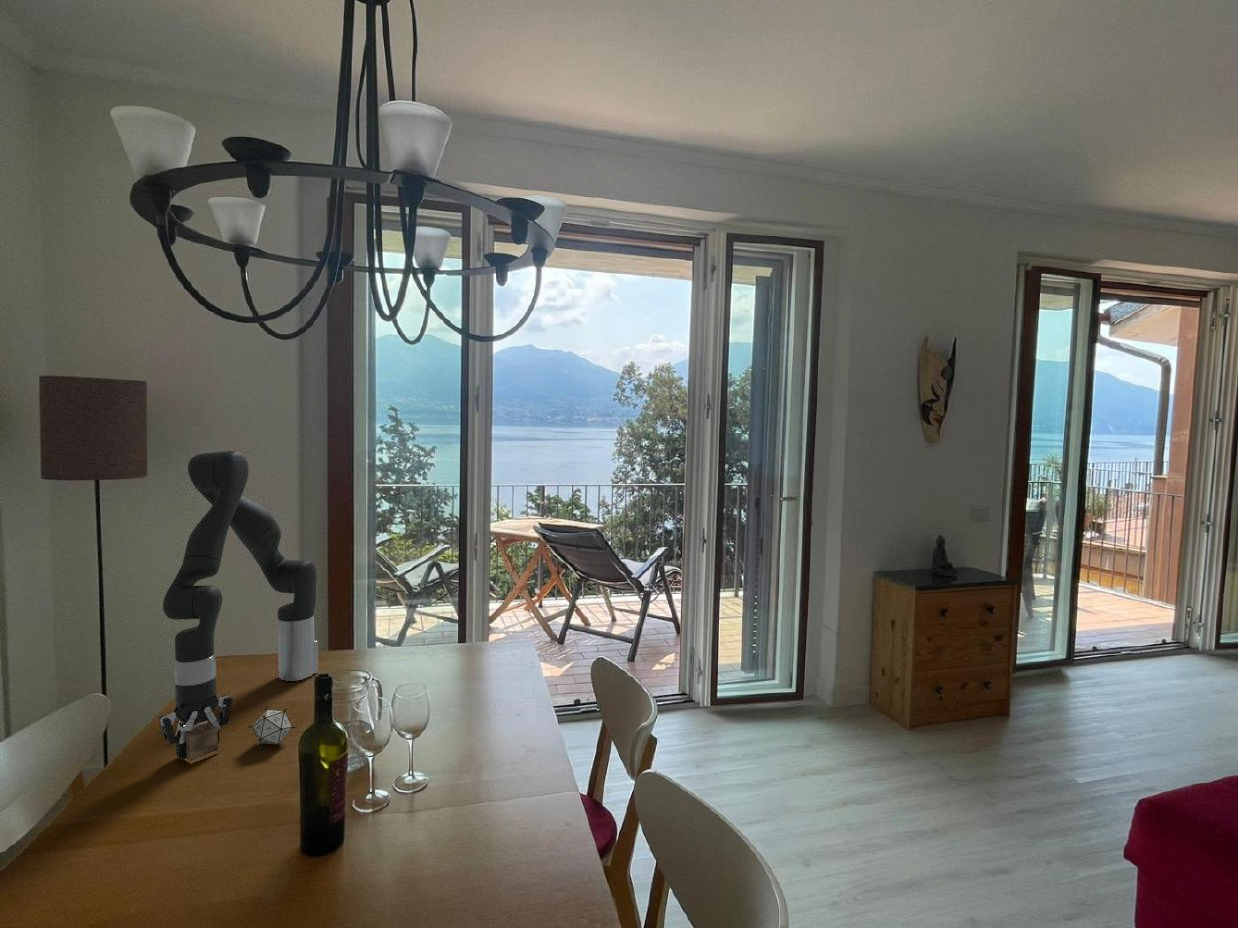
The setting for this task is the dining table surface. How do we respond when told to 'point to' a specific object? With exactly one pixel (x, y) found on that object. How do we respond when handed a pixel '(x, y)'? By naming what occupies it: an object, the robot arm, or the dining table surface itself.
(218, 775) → the dining table surface
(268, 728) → the game die
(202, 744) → the wooden cube
